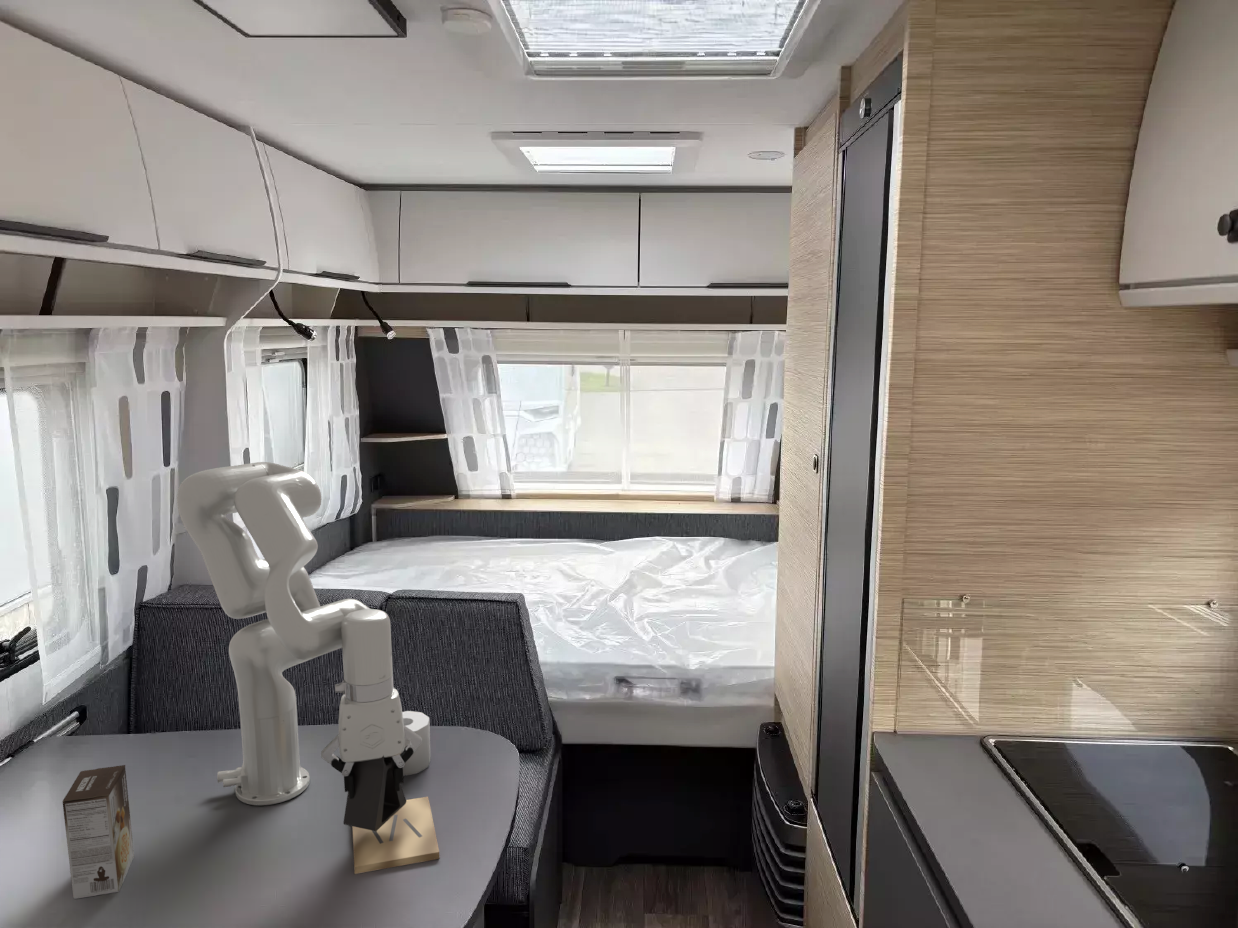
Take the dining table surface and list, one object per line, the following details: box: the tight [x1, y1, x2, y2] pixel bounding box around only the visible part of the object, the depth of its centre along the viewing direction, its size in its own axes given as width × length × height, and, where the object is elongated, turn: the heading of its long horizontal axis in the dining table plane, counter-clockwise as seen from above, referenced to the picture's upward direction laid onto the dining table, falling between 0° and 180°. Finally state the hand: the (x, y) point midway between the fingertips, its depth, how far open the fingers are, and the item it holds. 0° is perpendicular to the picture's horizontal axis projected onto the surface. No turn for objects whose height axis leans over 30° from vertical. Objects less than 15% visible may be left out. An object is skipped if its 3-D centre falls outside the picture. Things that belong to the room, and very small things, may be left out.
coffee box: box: [61, 764, 135, 900], centre depth 132 cm, size 9×6×16 cm
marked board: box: [352, 796, 441, 875], centre depth 145 cm, size 13×17×1 cm
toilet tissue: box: [402, 710, 432, 777], centre depth 166 cm, size 9×13×9 cm
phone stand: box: [343, 755, 407, 831], centre depth 142 cm, size 9×6×12 cm, turn 161°
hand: (374, 789), depth 142 cm, fingers closed on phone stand, 6 cm apart
